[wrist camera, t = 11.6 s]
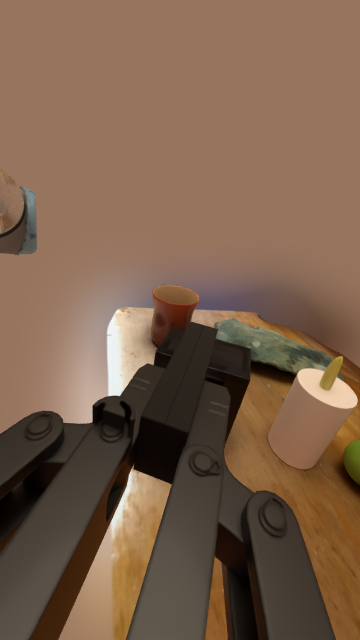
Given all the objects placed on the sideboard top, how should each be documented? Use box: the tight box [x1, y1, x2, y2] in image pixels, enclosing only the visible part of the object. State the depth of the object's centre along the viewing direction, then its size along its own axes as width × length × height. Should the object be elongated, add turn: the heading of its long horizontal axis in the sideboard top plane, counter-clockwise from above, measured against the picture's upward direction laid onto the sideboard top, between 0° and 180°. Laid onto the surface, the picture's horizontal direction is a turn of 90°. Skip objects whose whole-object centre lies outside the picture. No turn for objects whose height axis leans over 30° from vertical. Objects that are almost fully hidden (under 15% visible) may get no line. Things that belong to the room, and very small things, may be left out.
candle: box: [268, 356, 357, 469], centre depth 30 cm, size 6×6×15 cm
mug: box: [151, 285, 200, 346], centre depth 49 cm, size 12×9×10 cm
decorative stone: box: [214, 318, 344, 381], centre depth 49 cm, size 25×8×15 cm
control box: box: [154, 326, 251, 444], centre depth 31 cm, size 10×6×12 cm, turn 75°
